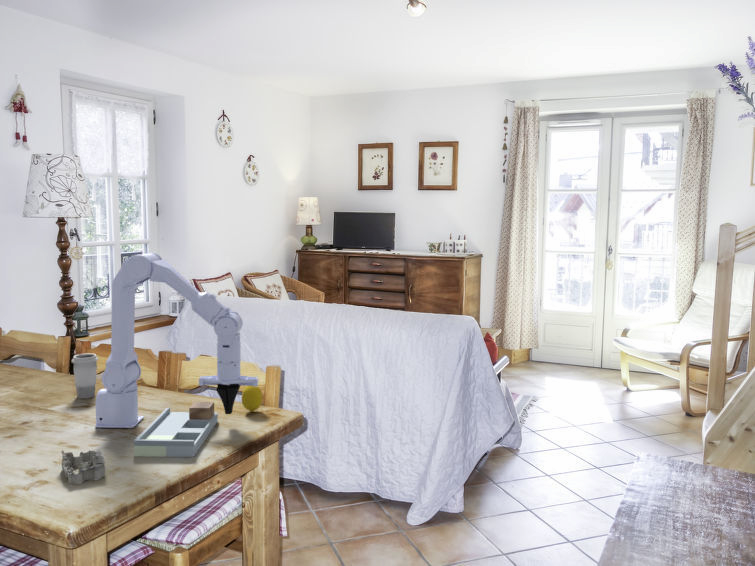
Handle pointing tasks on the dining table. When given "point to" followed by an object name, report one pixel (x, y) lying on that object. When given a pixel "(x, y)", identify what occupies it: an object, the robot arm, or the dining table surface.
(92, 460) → the grey toy castle
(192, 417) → the walnut block
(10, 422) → the dining table surface
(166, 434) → the trap tray
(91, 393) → the cup
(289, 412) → the dining table surface
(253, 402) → the lemon
